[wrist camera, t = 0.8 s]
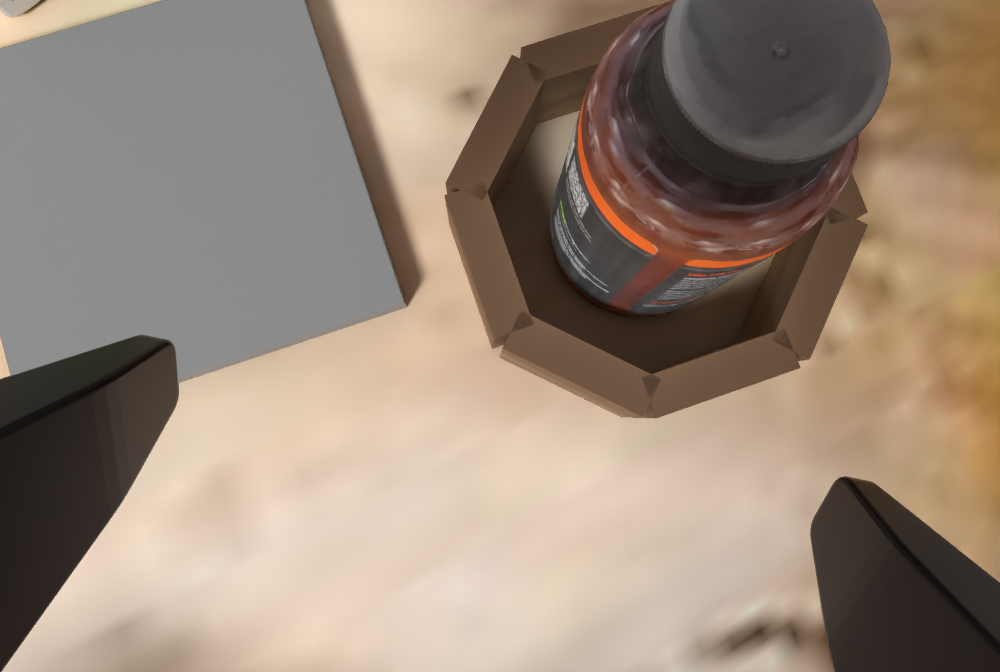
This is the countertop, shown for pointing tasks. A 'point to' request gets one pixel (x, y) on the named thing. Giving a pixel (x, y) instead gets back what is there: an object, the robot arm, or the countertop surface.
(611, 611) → the countertop surface
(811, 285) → the collar ring
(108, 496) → the robot arm
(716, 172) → the supplement bottle
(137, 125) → the pad
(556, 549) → the countertop surface
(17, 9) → the skincare box
